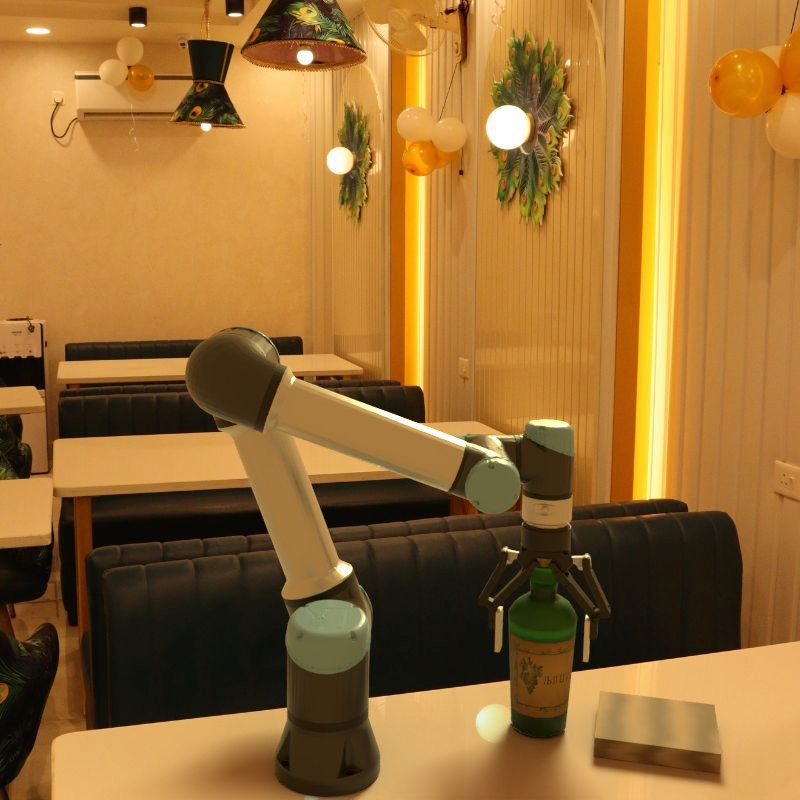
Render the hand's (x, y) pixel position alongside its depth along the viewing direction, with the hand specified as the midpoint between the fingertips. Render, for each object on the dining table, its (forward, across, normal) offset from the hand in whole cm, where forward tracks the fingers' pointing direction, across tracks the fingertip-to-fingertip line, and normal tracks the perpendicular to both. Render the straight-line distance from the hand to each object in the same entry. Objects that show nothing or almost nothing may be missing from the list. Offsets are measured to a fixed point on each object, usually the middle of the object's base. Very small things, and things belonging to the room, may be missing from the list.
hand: (541, 653), depth 156 cm
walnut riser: (+12, +18, +1) cm, 22 cm away
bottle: (+12, 0, 0) cm, 12 cm away
